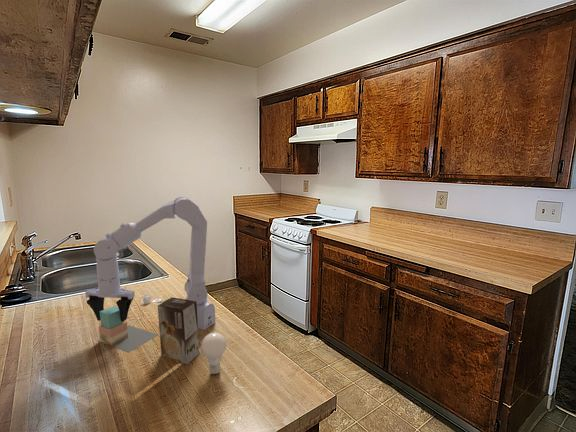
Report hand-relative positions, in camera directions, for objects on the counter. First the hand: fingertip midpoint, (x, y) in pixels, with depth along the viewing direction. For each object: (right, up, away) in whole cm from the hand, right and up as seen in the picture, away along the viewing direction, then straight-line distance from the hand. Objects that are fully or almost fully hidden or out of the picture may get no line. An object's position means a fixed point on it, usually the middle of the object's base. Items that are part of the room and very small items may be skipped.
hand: (112, 319), depth 99 cm
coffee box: (+23, -9, -6) cm, 25 cm away
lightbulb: (+35, -10, -14) cm, 39 cm away
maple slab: (0, -6, +1) cm, 6 cm away
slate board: (+4, -7, +2) cm, 9 cm away
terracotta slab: (0, -4, +1) cm, 4 cm away
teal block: (0, -1, 0) cm, 1 cm away
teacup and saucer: (+1, -4, +27) cm, 27 cm away
